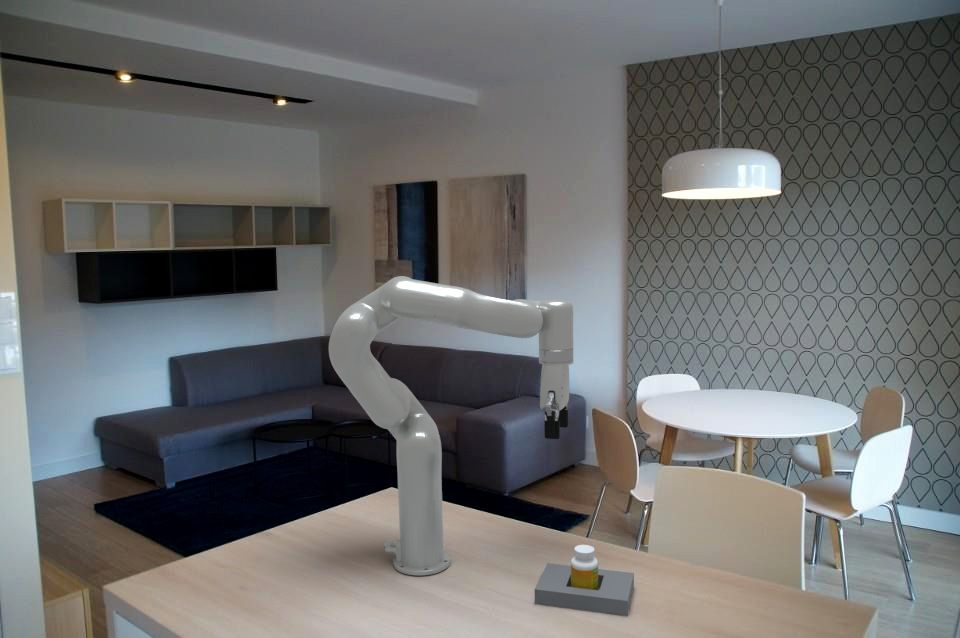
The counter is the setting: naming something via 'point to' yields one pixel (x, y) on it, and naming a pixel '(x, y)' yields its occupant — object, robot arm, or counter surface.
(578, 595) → the socket block
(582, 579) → the supplement bottle
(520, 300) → the robot arm
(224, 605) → the counter surface
